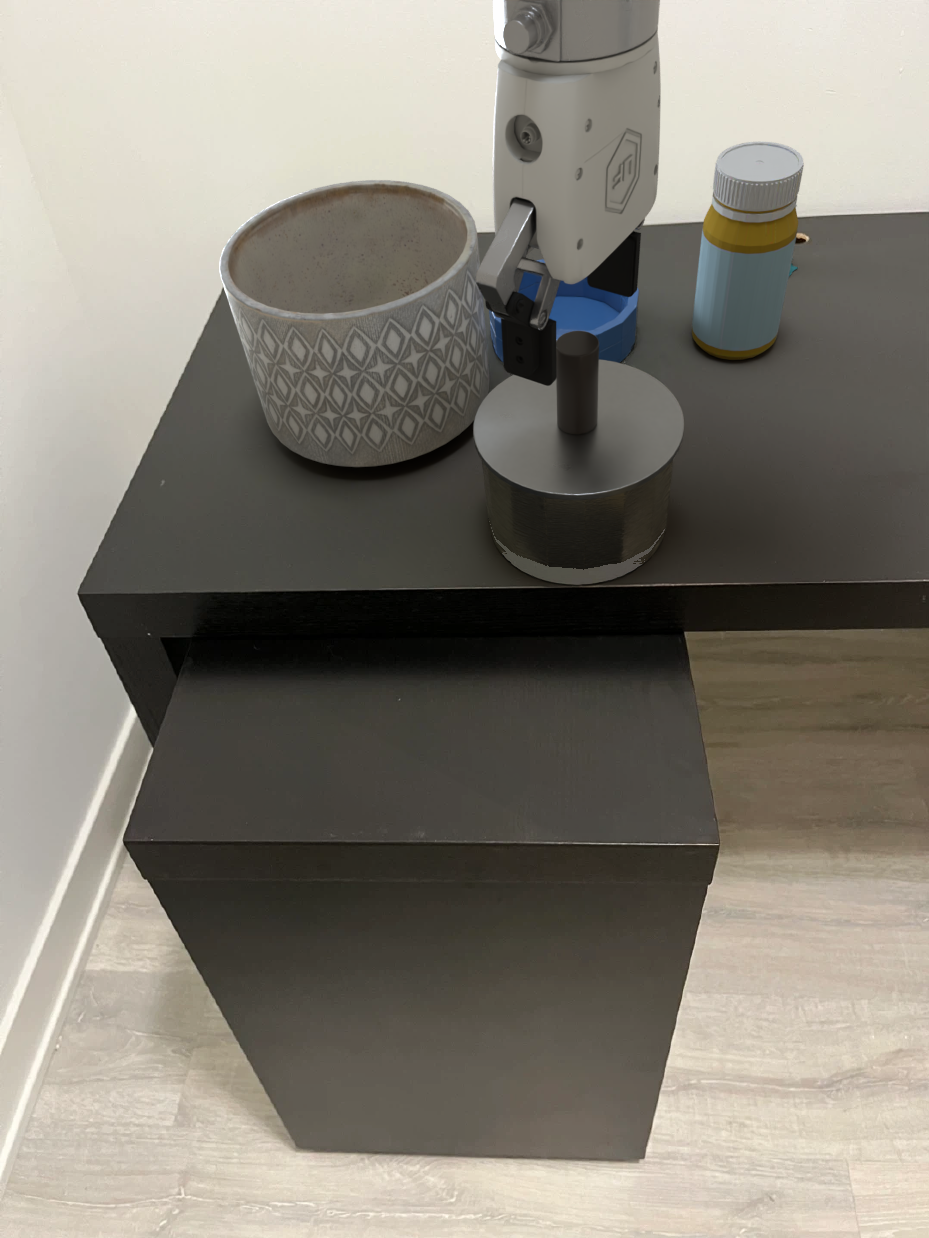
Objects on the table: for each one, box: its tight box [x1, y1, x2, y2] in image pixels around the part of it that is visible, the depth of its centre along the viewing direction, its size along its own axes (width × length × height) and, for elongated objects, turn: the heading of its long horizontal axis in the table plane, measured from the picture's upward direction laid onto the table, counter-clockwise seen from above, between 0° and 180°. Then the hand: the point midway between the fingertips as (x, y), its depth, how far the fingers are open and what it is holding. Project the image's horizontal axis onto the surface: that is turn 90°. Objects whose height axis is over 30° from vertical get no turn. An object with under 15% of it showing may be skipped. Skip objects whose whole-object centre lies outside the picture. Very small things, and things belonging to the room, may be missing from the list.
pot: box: [481, 459, 674, 570], centre depth 65 cm, size 13×13×8 cm
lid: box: [472, 331, 685, 500], centre depth 59 cm, size 14×14×7 cm
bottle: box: [691, 141, 805, 361], centre depth 74 cm, size 7×7×15 cm
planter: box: [218, 179, 491, 468], centre depth 73 cm, size 19×19×14 cm
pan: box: [488, 258, 640, 363], centre depth 81 cm, size 12×12×4 cm
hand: (572, 331), depth 56 cm, fingers open, 9 cm apart
